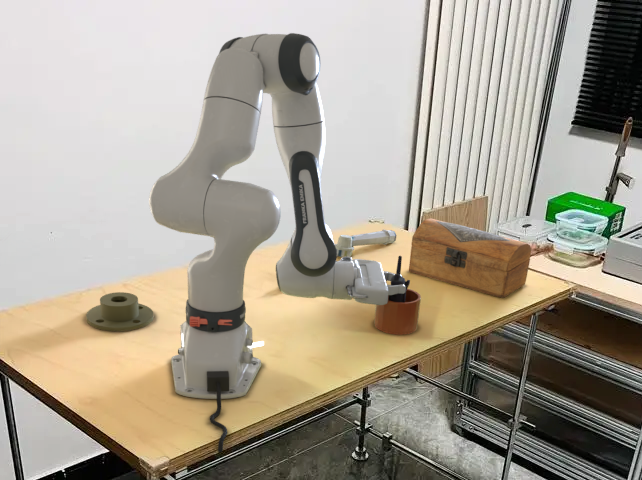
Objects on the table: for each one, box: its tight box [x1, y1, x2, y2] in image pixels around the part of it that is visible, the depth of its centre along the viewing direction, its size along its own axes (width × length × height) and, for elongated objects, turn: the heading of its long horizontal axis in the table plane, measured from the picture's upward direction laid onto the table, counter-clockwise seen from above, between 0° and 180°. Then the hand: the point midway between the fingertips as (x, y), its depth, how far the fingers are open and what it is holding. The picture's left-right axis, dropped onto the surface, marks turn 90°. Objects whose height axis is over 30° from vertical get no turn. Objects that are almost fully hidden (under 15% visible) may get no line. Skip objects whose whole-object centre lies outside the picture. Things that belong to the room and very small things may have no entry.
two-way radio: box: [389, 255, 411, 303], centre depth 190 cm, size 6×4×15 cm
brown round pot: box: [373, 288, 422, 336], centre depth 193 cm, size 10×10×8 cm
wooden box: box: [408, 217, 532, 299], centre depth 224 cm, size 30×16×14 cm, turn 55°
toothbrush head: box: [334, 228, 397, 258], centre depth 242 cm, size 5×7×25 cm
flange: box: [85, 291, 154, 332], centre depth 186 cm, size 5×15×15 cm
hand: (403, 283), depth 190 cm, fingers closed on two-way radio, 5 cm apart
